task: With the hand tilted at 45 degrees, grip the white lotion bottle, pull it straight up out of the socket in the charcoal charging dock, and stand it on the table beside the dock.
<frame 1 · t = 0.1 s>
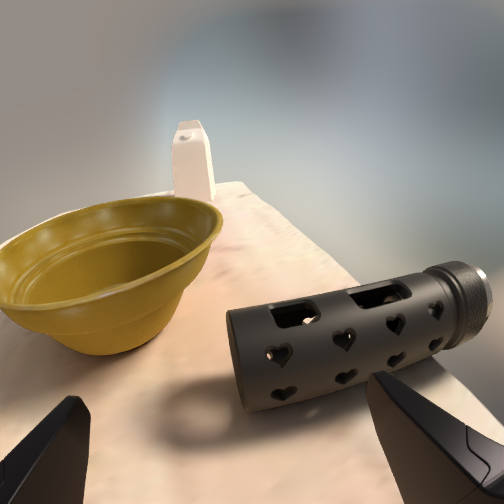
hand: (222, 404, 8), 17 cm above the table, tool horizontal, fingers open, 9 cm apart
muzzle brake: (369, 369, 29), on the table
milk: (196, 198, 100), on the table
planter bowl: (118, 323, 39), on the table
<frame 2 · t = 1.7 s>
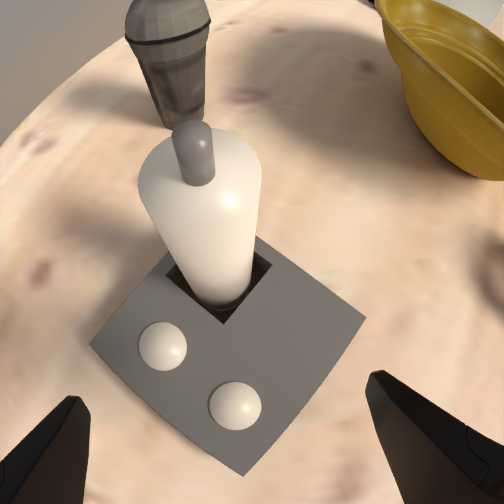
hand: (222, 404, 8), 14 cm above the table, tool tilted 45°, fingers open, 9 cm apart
white lotion bottle: (221, 282, 23), resting in charging dock
milk: (498, 51, 51), on the table
charging dock: (228, 356, 21), on the table
beverage cup: (183, 117, 30), on the table
planter bowl: (455, 134, 32), on the table
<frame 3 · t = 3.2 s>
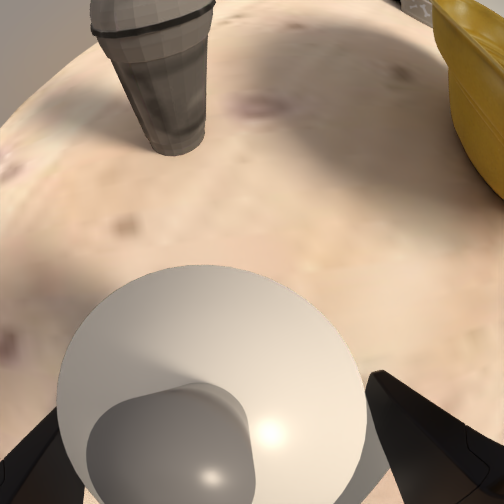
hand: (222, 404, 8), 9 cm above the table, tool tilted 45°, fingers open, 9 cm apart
white lotion bottle: (232, 380, 16), resting in charging dock
charging dock: (243, 469, 14), on the table
beverage cup: (177, 136, 23), on the table
dog bowl: (426, 16, 41), on the table
planter bowl: (500, 160, 25), on the table
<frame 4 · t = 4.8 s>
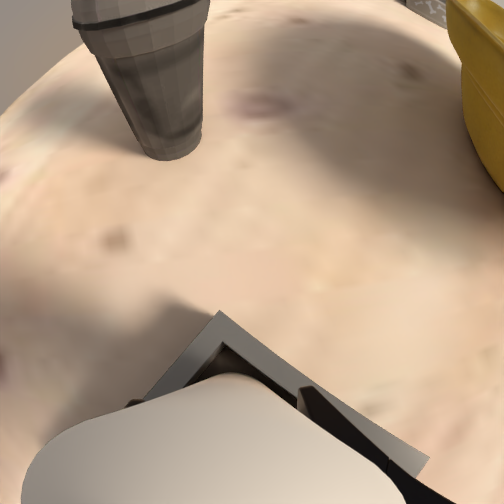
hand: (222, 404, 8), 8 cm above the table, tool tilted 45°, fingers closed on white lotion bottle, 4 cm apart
white lotion bottle: (233, 411, 15), resting in charging dock, touching gripper
charging dock: (246, 500, 13), on the table
beverage cup: (171, 139, 21), on the table
dog bowl: (431, 13, 39), on the table
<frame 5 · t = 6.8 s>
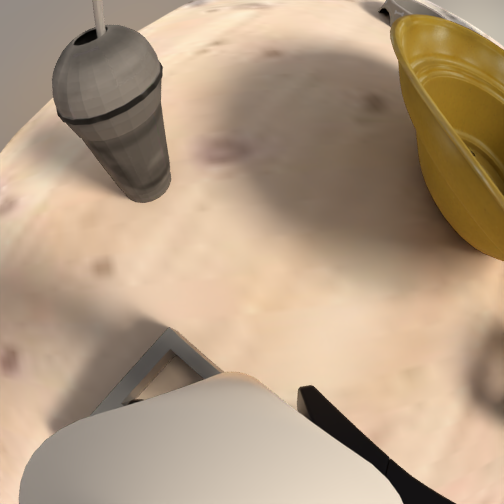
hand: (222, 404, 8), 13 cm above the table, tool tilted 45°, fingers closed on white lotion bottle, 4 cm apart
white lotion bottle: (232, 411, 15), point 6 cm above the table, touching gripper
charging dock: (191, 468, 18), on the table
beverage cup: (147, 182, 26), on the table
dog bowl: (417, 30, 44), on the table
planter bowl: (471, 193, 28), on the table
when the fingers open (9 cm above the table, at t = 8.7 s): white lotion bottle drops 1 cm, on the table.
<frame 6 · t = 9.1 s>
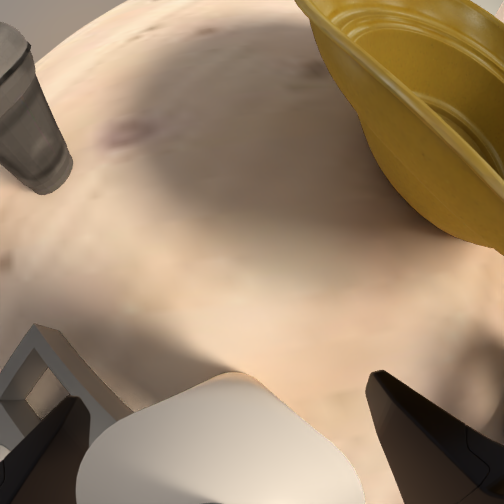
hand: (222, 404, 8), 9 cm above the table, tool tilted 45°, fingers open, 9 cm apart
white lotion bottle: (234, 408, 16), on the table
milk: (502, 48, 42), on the table
charging dock: (77, 481, 13), on the table
beverage cup: (52, 173, 22), on the table
planter bowl: (440, 165, 23), on the table
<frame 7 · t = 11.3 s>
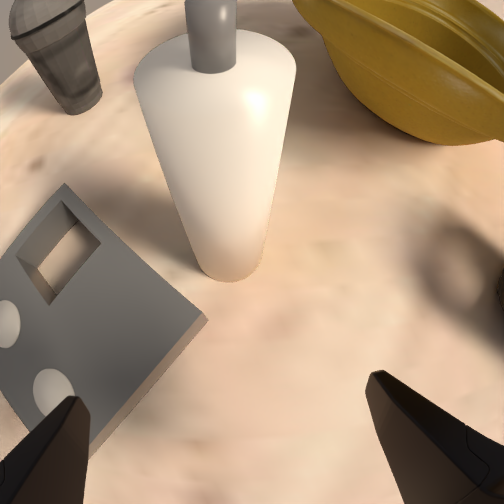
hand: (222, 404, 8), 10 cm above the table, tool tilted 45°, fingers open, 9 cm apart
white lotion bottle: (228, 249, 20), on the table
milk: (482, 29, 46), on the table
charging dock: (72, 343, 17), on the table
beverage cup: (84, 101, 26), on the table
planter bowl: (404, 96, 27), on the table
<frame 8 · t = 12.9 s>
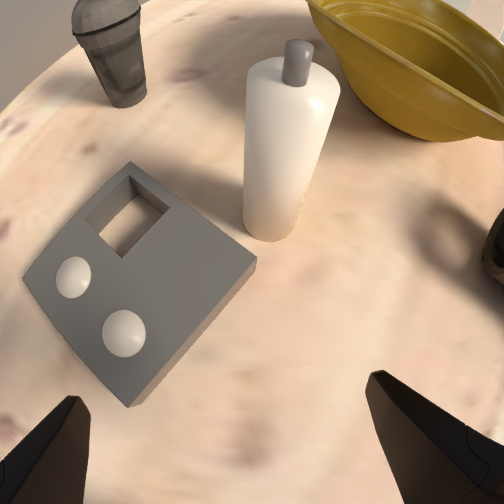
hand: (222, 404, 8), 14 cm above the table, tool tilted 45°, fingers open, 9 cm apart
white lotion bottle: (269, 217, 25), on the table
milk: (477, 36, 52), on the table
charging dock: (134, 295, 23), on the table
beverage cup: (129, 97, 31), on the table
planter bowl: (403, 101, 33), on the table
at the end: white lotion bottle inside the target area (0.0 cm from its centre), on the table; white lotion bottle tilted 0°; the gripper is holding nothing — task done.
